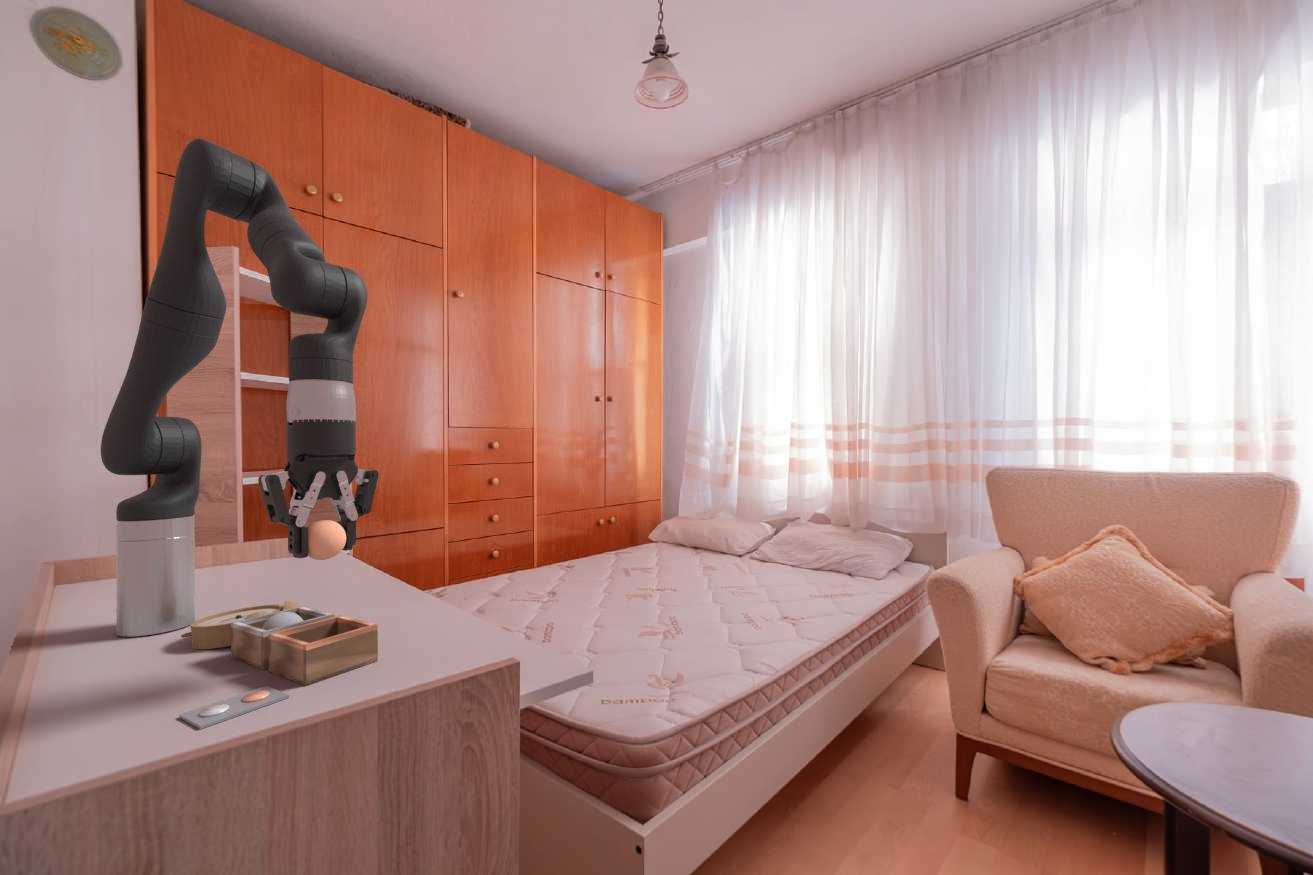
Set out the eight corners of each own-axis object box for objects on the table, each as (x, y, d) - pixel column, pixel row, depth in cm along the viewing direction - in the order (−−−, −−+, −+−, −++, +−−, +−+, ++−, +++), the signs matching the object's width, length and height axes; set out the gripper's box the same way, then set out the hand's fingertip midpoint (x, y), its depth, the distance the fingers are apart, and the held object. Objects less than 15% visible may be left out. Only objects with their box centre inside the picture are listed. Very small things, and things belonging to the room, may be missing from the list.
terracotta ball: (292, 561, 70) (292, 521, 70) (332, 554, 74) (332, 516, 75) (313, 564, 68) (313, 523, 68) (354, 557, 72) (354, 518, 72)
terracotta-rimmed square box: (268, 671, 69) (268, 633, 69) (339, 649, 77) (339, 615, 77) (306, 685, 65) (306, 645, 65) (377, 660, 72) (377, 624, 72)
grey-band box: (231, 657, 74) (231, 622, 75) (301, 638, 82) (300, 606, 82) (263, 669, 70) (263, 632, 70) (334, 647, 77) (334, 614, 78)
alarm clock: (233, 607, 89) (321, 590, 88) (238, 638, 89) (326, 622, 88) (165, 630, 78) (265, 611, 77) (171, 665, 78) (272, 647, 77)
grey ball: (254, 652, 75) (252, 615, 75) (294, 640, 79) (292, 605, 79) (272, 659, 73) (271, 620, 73) (313, 646, 77) (311, 609, 77)
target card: (179, 717, 57) (179, 712, 57) (266, 688, 64) (266, 683, 64) (200, 729, 55) (200, 723, 55) (289, 697, 62) (288, 692, 62)
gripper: (359, 421, 80) (361, 543, 79) (243, 418, 67) (244, 561, 67) (392, 419, 76) (393, 546, 75) (274, 414, 63) (275, 566, 63)
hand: (323, 552), depth 71 cm, fingers closed on terracotta ball, 5 cm apart
